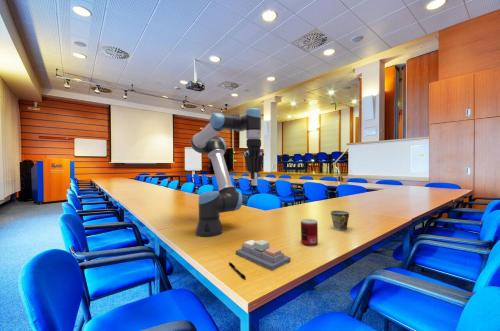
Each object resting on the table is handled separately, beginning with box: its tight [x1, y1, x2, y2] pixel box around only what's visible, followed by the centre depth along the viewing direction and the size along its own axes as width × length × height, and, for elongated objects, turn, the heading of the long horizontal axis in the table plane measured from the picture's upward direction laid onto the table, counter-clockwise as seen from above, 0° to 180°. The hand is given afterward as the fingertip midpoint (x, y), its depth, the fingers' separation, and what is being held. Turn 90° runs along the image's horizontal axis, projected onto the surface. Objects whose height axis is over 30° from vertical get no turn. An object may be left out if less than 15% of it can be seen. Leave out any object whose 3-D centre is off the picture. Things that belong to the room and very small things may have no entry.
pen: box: [228, 261, 247, 281], centre depth 78 cm, size 14×2×1 cm, turn 28°
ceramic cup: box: [330, 210, 350, 232], centre depth 126 cm, size 13×10×10 cm
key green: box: [254, 239, 270, 251], centre depth 90 cm, size 4×4×2 cm
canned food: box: [300, 218, 319, 247], centre depth 105 cm, size 8×8×11 cm
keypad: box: [235, 243, 291, 271], centre depth 90 cm, size 21×11×4 cm, turn 43°
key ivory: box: [243, 239, 257, 248], centre depth 94 cm, size 4×4×2 cm
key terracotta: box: [265, 247, 282, 257], centre depth 85 cm, size 4×4×2 cm
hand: (254, 185), depth 111 cm, fingers closed
